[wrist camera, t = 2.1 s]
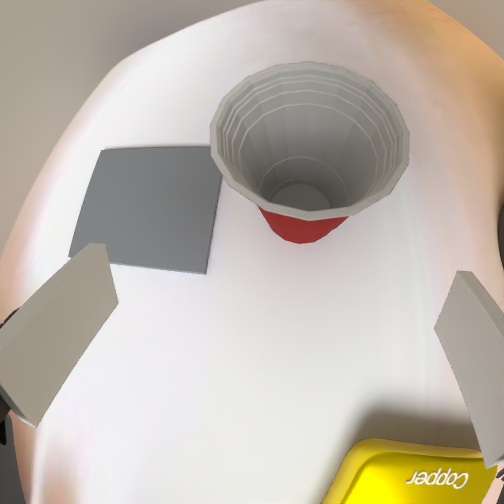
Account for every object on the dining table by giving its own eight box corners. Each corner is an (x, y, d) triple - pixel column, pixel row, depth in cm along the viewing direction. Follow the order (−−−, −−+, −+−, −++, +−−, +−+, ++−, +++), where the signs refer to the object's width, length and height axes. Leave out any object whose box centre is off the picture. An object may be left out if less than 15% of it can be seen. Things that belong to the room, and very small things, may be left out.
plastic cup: (220, 178, 27) (189, 81, 16) (330, 149, 28) (352, 50, 16) (255, 293, 24) (237, 246, 13) (378, 252, 24) (446, 184, 13)
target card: (226, 150, 28) (225, 147, 28) (205, 274, 25) (204, 272, 24) (103, 153, 30) (101, 150, 29) (71, 258, 26) (68, 256, 26)
